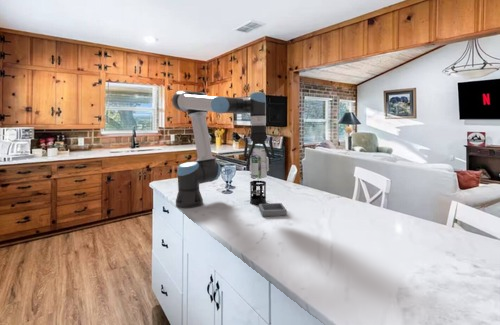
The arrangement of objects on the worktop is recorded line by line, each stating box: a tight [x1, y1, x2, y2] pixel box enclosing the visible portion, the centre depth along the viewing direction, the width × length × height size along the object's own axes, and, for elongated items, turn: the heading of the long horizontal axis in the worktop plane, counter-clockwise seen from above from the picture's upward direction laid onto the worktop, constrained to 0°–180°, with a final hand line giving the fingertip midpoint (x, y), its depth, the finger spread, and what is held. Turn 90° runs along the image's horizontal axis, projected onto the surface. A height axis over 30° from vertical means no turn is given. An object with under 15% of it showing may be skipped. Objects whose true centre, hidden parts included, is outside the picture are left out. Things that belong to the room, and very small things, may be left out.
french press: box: [249, 173, 267, 206], centre depth 163 cm, size 12×9×23 cm
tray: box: [258, 202, 288, 218], centre depth 147 cm, size 12×12×3 cm
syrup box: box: [250, 147, 268, 180], centre depth 142 cm, size 6×6×14 cm
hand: (259, 171), depth 142 cm, fingers closed on syrup box, 8 cm apart
